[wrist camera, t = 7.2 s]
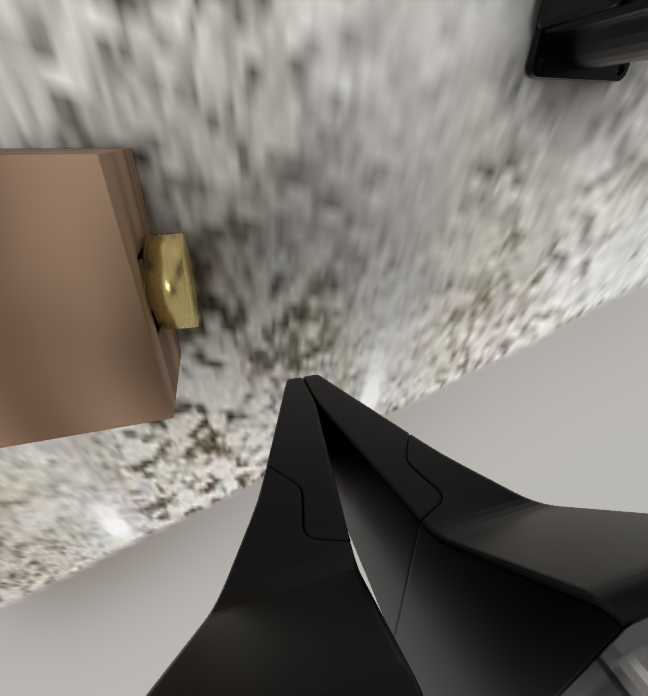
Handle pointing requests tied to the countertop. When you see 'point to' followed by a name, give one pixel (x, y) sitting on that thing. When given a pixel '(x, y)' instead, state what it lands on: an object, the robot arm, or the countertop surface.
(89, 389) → the block
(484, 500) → the robot arm
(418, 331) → the countertop surface
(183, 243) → the pin
